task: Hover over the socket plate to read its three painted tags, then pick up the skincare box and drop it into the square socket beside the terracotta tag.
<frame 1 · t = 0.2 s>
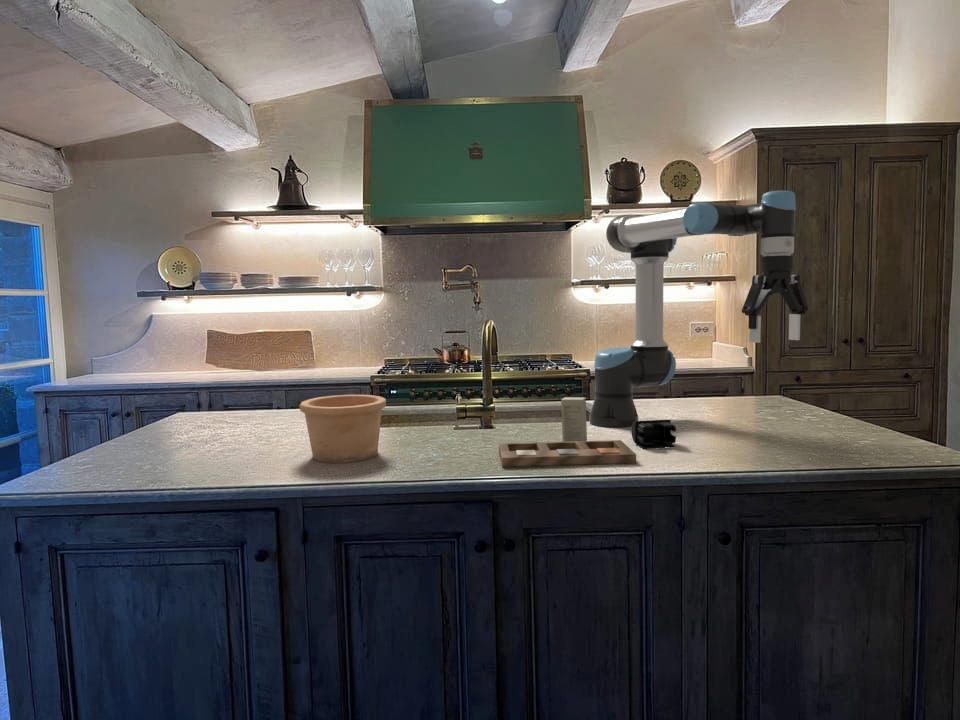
hand: (774, 341, 161), 28 cm above the countertop, tool pointing down, fingers open, 13 cm apart
pottery: (345, 456, 168), on the countertop
skincare box: (574, 442, 178), on the countertop
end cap: (653, 446, 172), on the countertop
socket plate: (564, 458, 160), on the countertop
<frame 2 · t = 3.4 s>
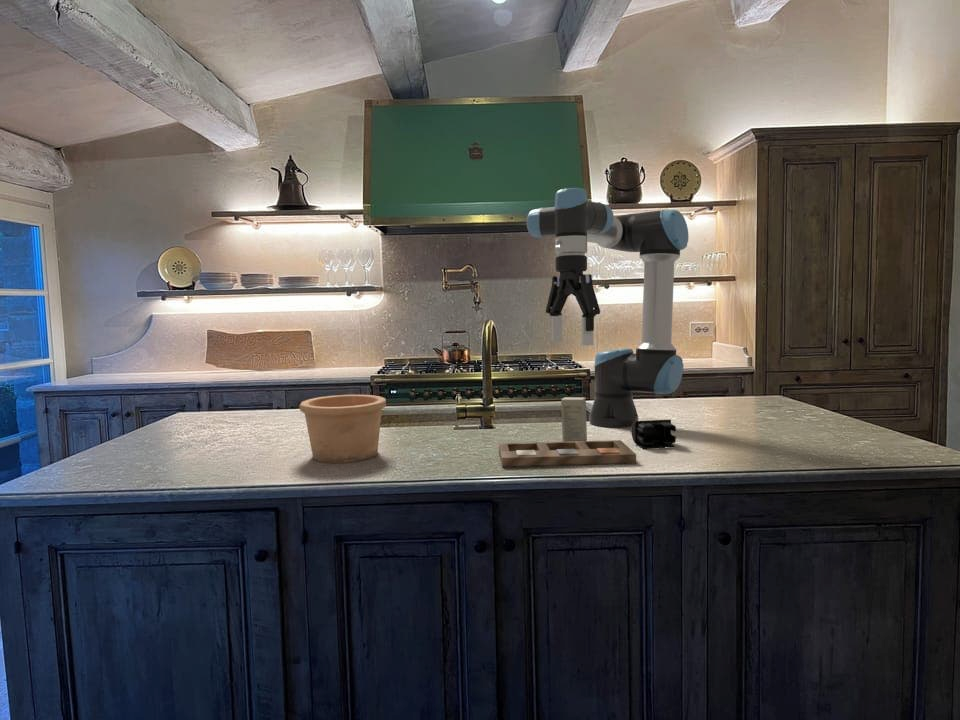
hand: (571, 343, 156), 29 cm above the countertop, tool pointing down, fingers open, 13 cm apart
nothing on the countertop moved.
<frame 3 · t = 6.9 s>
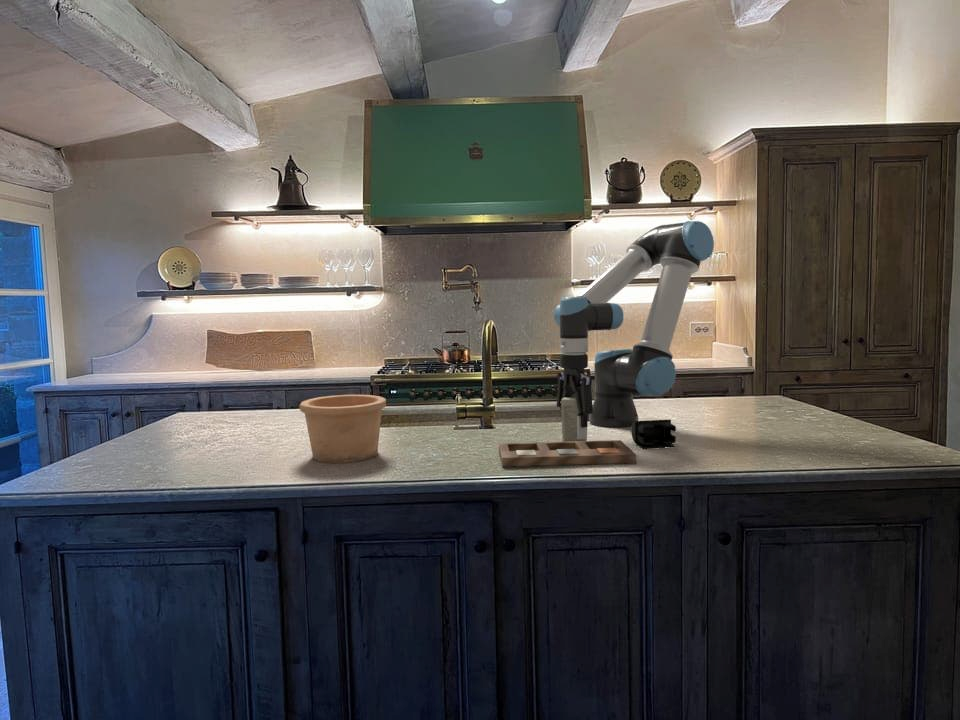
hand: (574, 435, 178), 2 cm above the countertop, tool pointing down, fingers closed on skincare box, 7 cm apart
skincare box: (574, 442, 178), on the countertop, touching gripper
everything else where it was.
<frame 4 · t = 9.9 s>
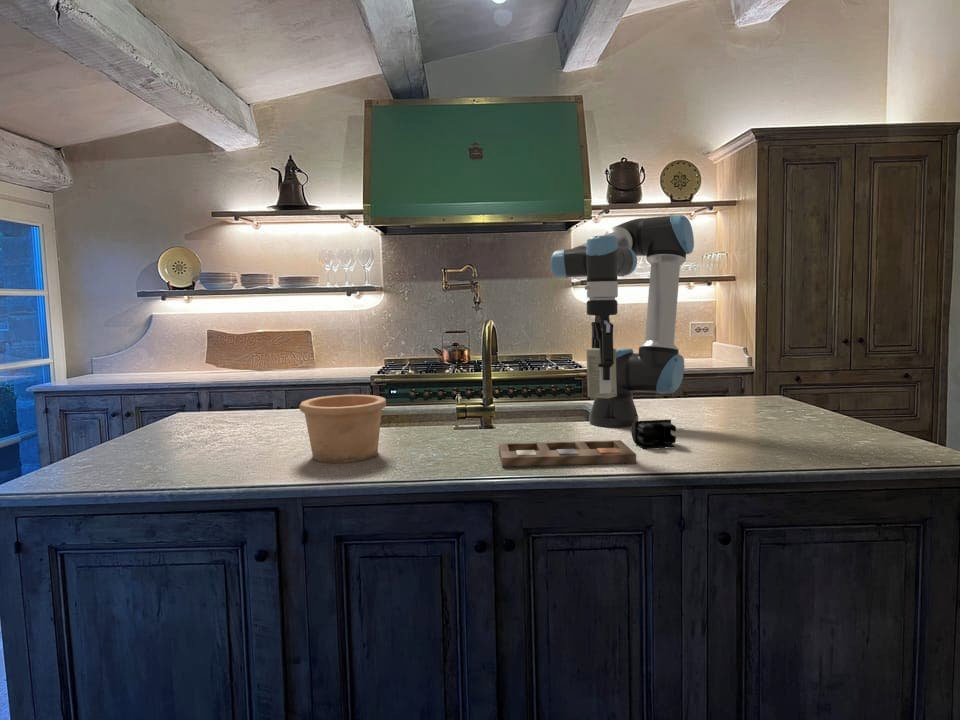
hand: (602, 390, 161), 16 cm above the countertop, tool pointing down, fingers closed on skincare box, 7 cm apart
skincare box: (601, 397, 162), point 15 cm above the countertop, touching gripper
everything else where it was.
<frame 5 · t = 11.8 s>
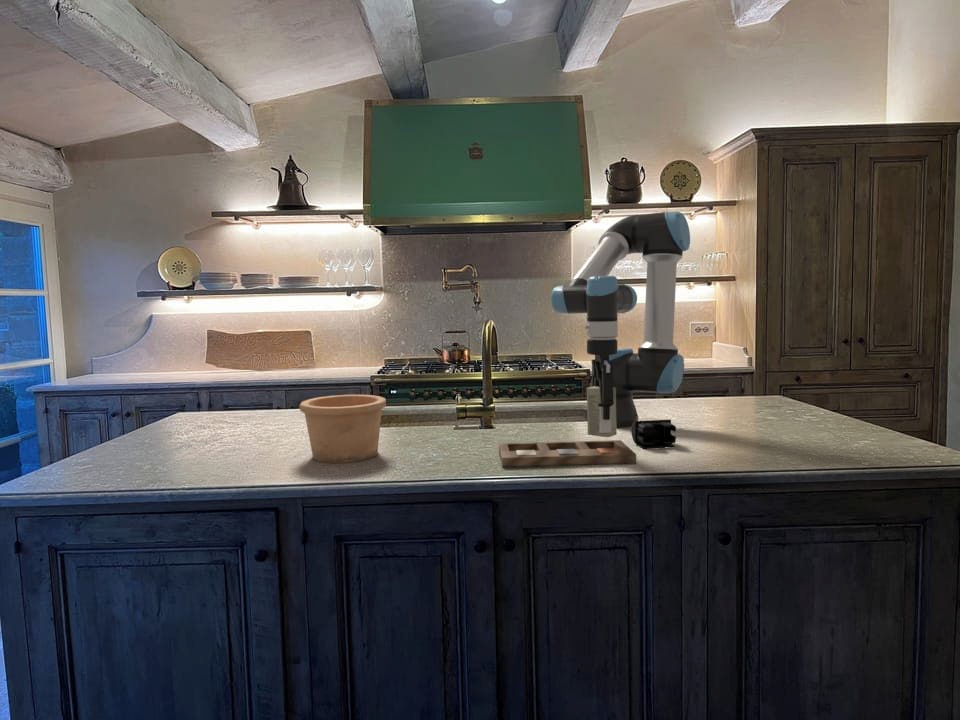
hand: (601, 428, 162), 7 cm above the countertop, tool pointing down, fingers closed on skincare box, 7 cm apart
skincare box: (601, 435, 163), point 5 cm above the countertop, touching gripper
everything else where it was.
when the fingers open (5 cm above the countertop, at t = 13.2 s): skincare box drops 2 cm, resting on socket plate.
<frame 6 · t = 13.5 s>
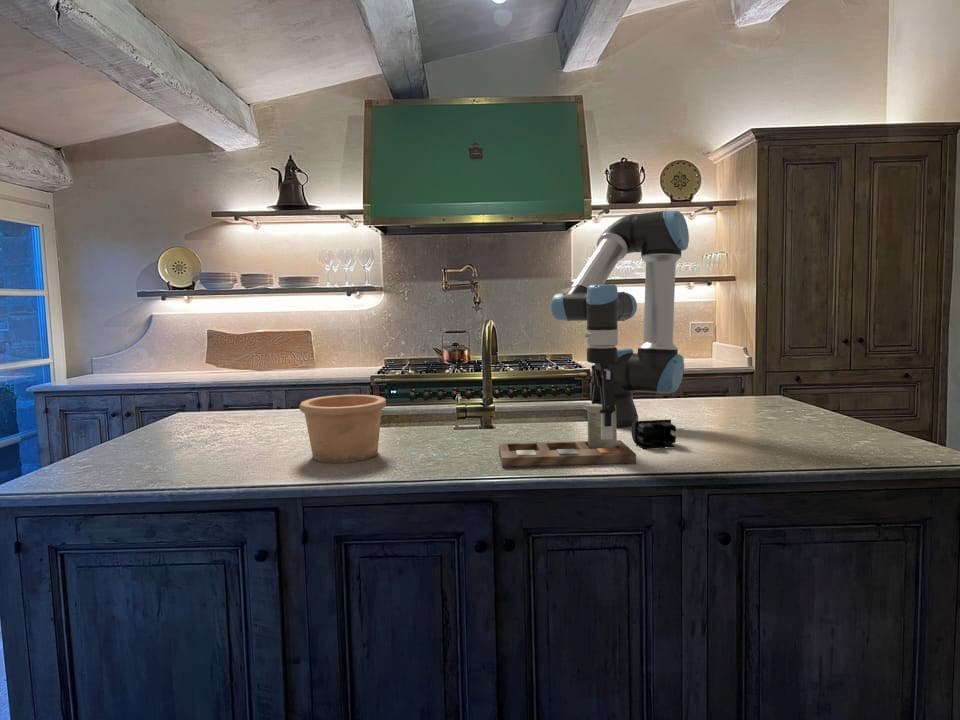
hand: (602, 434, 162), 5 cm above the countertop, tool pointing down, fingers open, 10 cm apart
skincare box: (602, 453, 163), resting on socket plate
everything else where it was.
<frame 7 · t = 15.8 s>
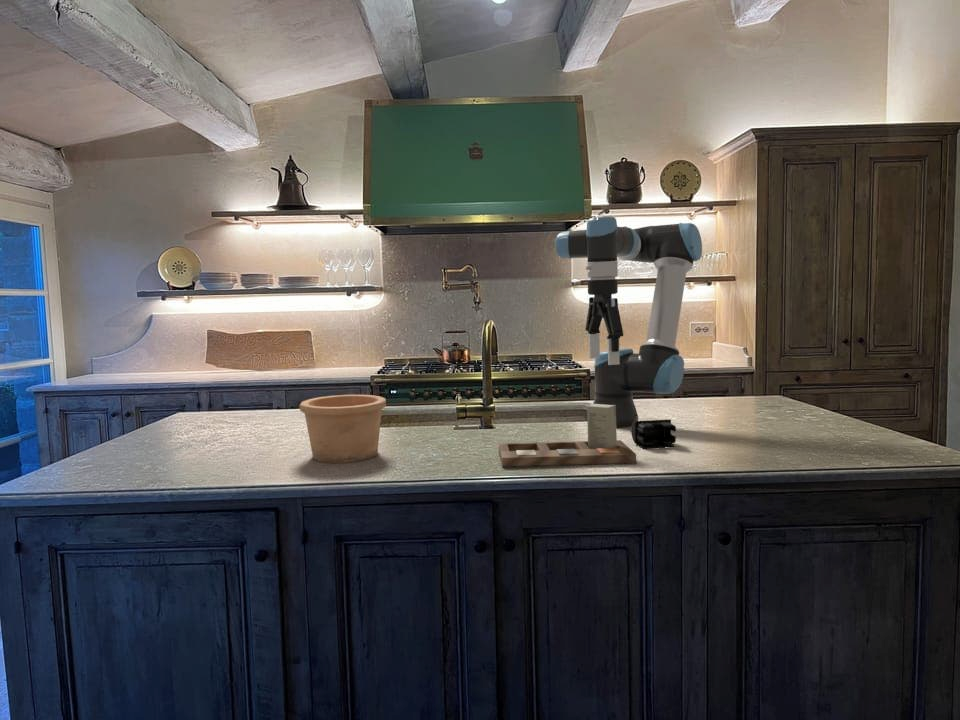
hand: (603, 361, 167), 23 cm above the countertop, tool pointing down, fingers open, 13 cm apart
nothing on the countertop moved.
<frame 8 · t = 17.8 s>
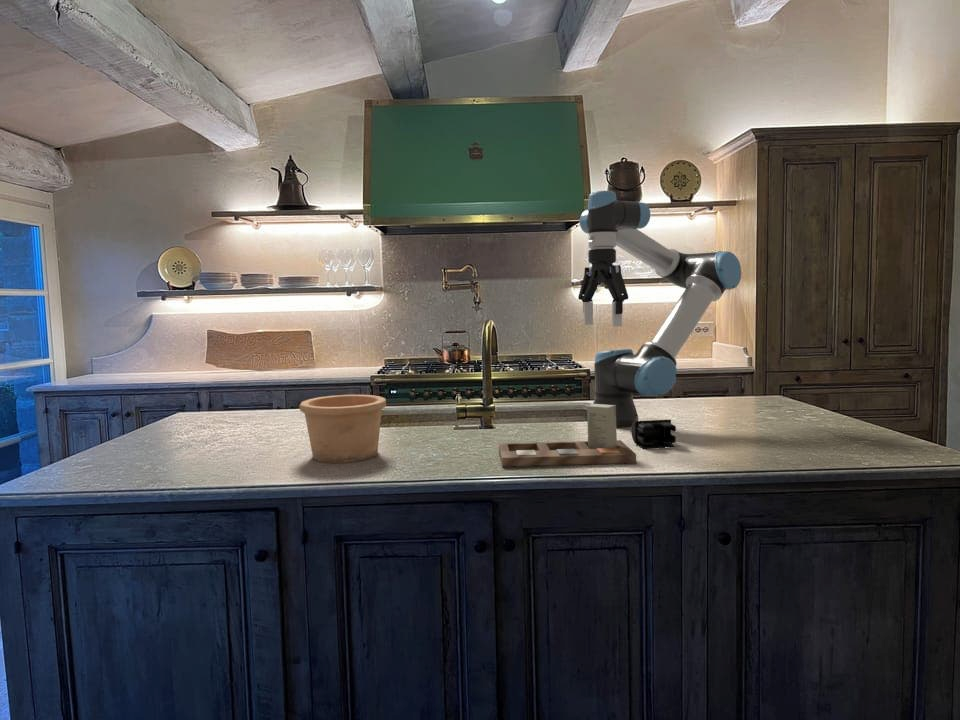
hand: (602, 325, 180), 32 cm above the countertop, tool pointing down, fingers open, 13 cm apart
nothing on the countertop moved.
at the end: skincare box 0.4 cm from the target spot on the socket plate, point 0.2 cm above the socket plate's base; skincare box tilted 0° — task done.
